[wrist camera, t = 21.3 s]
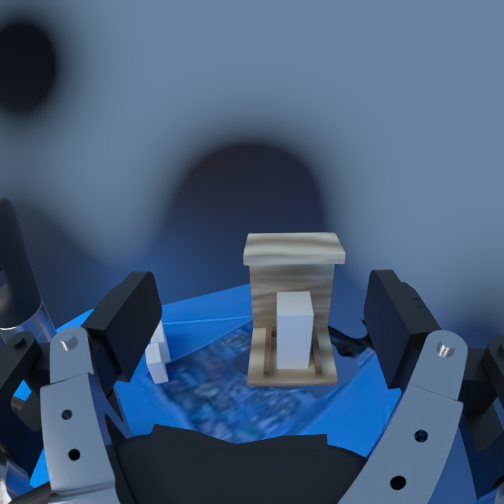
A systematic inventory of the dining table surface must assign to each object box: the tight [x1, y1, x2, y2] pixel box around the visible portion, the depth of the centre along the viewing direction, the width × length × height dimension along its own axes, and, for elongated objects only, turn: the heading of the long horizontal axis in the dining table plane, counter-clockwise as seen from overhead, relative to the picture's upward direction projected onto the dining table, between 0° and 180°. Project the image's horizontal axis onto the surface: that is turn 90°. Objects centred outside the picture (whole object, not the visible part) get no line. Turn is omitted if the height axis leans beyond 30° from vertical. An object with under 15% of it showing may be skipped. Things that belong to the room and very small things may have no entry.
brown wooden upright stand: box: [243, 233, 345, 386], centre depth 43 cm, size 15×14×19 cm
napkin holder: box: [145, 320, 171, 384], centre depth 45 cm, size 15×11×6 cm
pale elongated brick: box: [277, 291, 314, 369], centre depth 43 cm, size 6×5×11 cm
